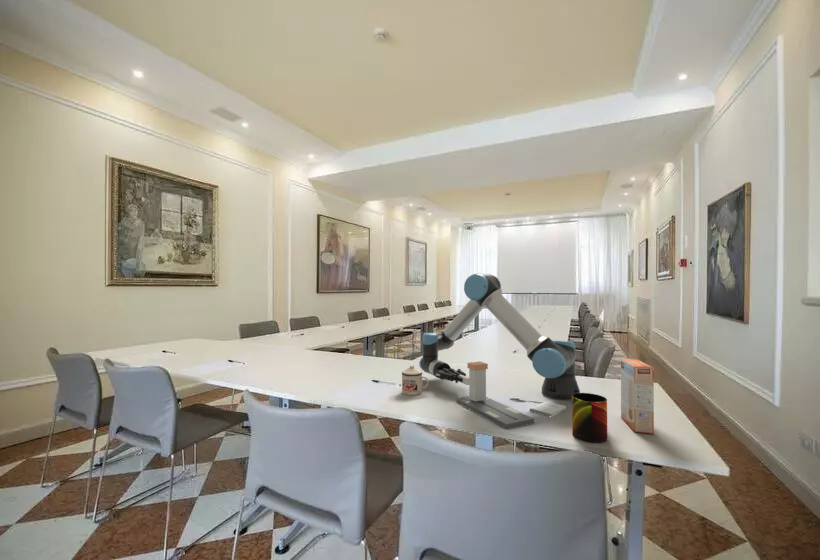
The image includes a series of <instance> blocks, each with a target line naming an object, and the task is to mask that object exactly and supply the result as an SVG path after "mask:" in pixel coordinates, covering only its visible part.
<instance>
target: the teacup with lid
mask: <svg viewBox="0 0 820 560" xmlns="http://www.w3.org/2000/svg"><path fill="white" fill-rule="evenodd" d="M423 379H424V380H426V384H425V385H423V382H422V381H423ZM429 383H430V382H429V378H428V377H427V376H423V370H422V369H421V370H420V369H418V368H416V367H415V366H414V365H412V364H411V365H409V367H408V368H406V369H403V370H402V371H401V393H402V394H404V395H406V396H418V395H421V394H422V393H423V389H426V388H427V387H428V386H429Z"/></svg>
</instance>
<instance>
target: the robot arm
mask: <svg viewBox="0 0 820 560" xmlns="http://www.w3.org/2000/svg"><path fill="white" fill-rule="evenodd" d="M463 291H464V294H465V296H466V297H467V299H469V300H468V302H467V303H466V304H465V306H463V307H462V309H461V310H460V311H459V312H458V313H457V314H456V315H455V316H454V318H453V319H452V321H450V323H449V324H448V325H447V326H446V327H445V329H443V331H442V332H441V333H440V334H438V333H436V332H426V333H425V332H424V333H423V335H422V357H421V358H420V359H419V362H418V363H419V364H418V365H419V368H420V369H421V371H422V372H425V373H427V374H429V375H432V376H434V377H435V378H437V379H439V380H445V381H448V382H449V381H450V382H455V384H458V383H462V384H463V385H466V386H469V376H467V373H466V372H464V371H463V370H462V369H460V368H458V369H454V368H452V367H451V366H450V364H448V363H447V362H444V361H442V360H439V352H440V351H444V350H449V349H450V348H452V347H453V346H454V345H455V340H457V338H458V337H459V336H460V335H461V334H462V333H463V332H464V331H465V330H466V328H467V327H468V326H470V324H471V323H472V322H473V321H474V320H475V318H476V317H477V316H479V314H480V313H481V312H482V311H483V310H484V309H487V310H488V311H489V312H490V313H491V314H492V315H493V316H494V317H495V319H497V320H498V321H499V322H500V324H501V325H502V326H503V327H504V328H505V329H506V330H507V331H508V333H510V334H511V335H512V336H513V338H514V339H515V340H516V341H517V342H518V343H519V344H520V345H521V346H522V347H523V348H524V349H525V351H526V357H527V358H528V359H529V360H530V361H531V362H532V367H533V369H534V371H535V372H536V373H537V374H538V375H539V376H541V377H543V378H544V379H543V383H542V385H541V394H542V395H543V396H545V397H548V398H551V399H555V400H556V399H557V400H563V401H564V400H565V401H567V400H569V401H572V395H573V394H575V393H581V390H580V387H579V384H578V381H577V378H576V344H575V343H574V342H573V341H569V340H568V341H567V340H556V339H555V340H554V339H551V338H550V337H549V336H543V335H542V334H541V333H540V332H539V331H538V330H537V328H535V327H534V326H533V325H532V324H531V323H530V322H529V321H528V320H527V318H525V317H524V316H523V315H522V313H520V311H518V310H517V309H516V308H515V307H514V306H513V305H512V304H511V303H510V302H509V301H508V299H507V298H505V297H504V295H503V290H502V284H501V281H500V280H499V278H498V277H496V276H495V275H494V274H489V273H480V272H479V273H478V272H477V273H472V274H471V275H469V276H468V277H467V278H466V279H465V281H464V285H463Z"/></svg>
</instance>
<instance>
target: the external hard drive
mask: <svg viewBox="0 0 820 560" xmlns="http://www.w3.org/2000/svg"><path fill="white" fill-rule="evenodd" d="M566 409H567V406H566V405H563V404H558V403H555V402H554V403H553V402H550V401H543V402H542V403H540V404H538V405H535V406H533V407H531V408H529V412H530V411H532V412H531V413H534V412H536V413H535V414H538V413H539V415H542V414H543V415H542V416H545V415H547V416H546V417H549V416H551V417H550V418H552V417H554V416H556V415H558V414H560V413H561V412H563V411H565V410H566ZM559 412H560V413H559ZM557 413H558V414H557ZM555 414H556V415H555ZM553 415H554V416H553Z"/></svg>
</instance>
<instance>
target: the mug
mask: <svg viewBox="0 0 820 560" xmlns="http://www.w3.org/2000/svg"><path fill="white" fill-rule="evenodd" d="M571 426H572V428H571V429H572V430H571V431H572V437H574V438H575V439H576V440H579V441H581V442H583V443H588V444H598V445H599V444H600V445H601V444H605V443H607V442H608V399H607V398H606V396H604V395H603V396H602V395H600V394H596V393H595V394H594V393H591V392H580V393H575V394H573V395H572V400H571Z"/></svg>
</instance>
